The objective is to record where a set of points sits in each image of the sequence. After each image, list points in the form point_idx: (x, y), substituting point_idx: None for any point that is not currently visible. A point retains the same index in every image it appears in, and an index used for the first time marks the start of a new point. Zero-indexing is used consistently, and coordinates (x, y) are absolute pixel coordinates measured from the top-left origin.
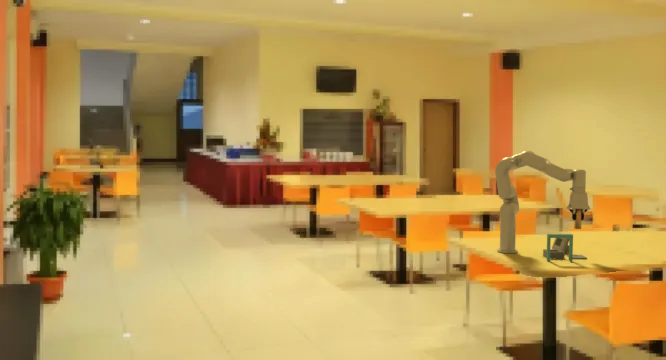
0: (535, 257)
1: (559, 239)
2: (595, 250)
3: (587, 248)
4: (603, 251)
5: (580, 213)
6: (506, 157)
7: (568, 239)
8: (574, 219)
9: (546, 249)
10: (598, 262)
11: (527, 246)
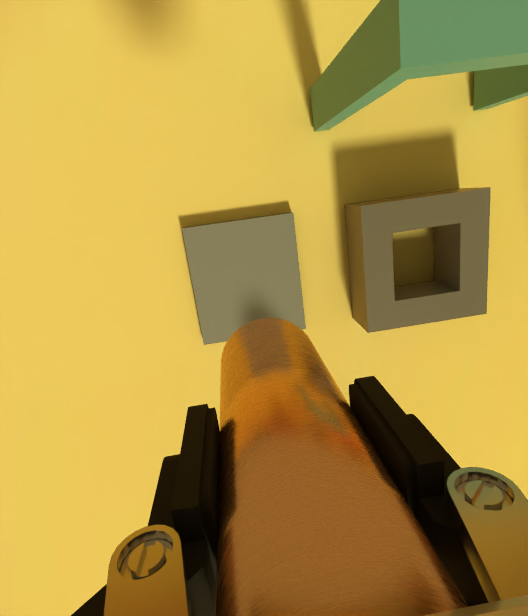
0: (524, 227)
1: None
2: (91, 556)
3: None
4: (43, 537)
5: (269, 490)
6: None
7: None
8: (376, 380)
9: (465, 311)
10: (112, 95)
11: None
